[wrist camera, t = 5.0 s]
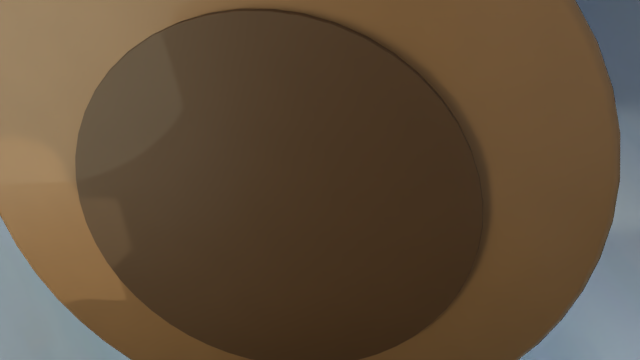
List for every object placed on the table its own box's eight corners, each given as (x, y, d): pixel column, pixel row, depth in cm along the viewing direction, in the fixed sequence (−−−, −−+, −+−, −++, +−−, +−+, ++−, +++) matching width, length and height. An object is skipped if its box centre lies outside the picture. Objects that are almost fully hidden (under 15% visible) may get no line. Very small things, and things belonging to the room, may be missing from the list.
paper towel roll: (455, 362, 15) (1049, 794, 1) (272, 352, 16) (-448, 538, 2) (441, -11, 19) (553, -837, 5) (295, -1, 20) (83, -677, 6)
